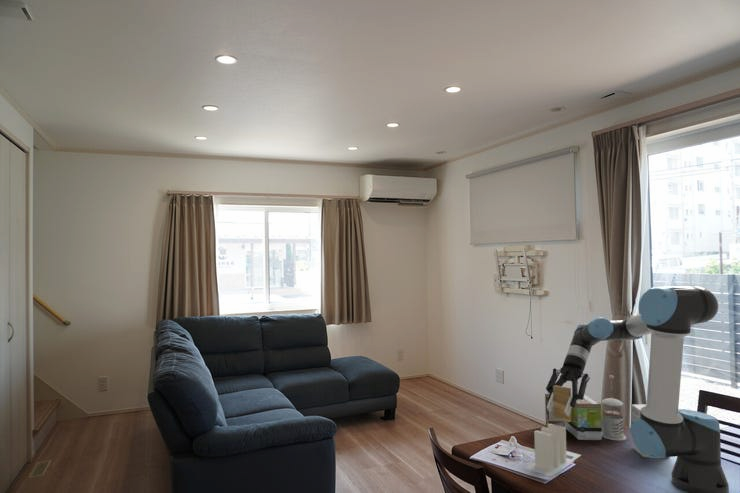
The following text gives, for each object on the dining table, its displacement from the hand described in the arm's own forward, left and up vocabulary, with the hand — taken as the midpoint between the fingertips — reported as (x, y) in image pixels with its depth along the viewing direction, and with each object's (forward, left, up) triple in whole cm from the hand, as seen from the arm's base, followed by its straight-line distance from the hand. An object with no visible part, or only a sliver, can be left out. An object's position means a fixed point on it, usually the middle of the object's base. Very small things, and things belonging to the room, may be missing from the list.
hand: (557, 411), depth 176 cm
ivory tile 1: (0, +2, -17) cm, 17 cm away
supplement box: (-30, -21, -18) cm, 41 cm away
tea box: (-6, -32, -18) cm, 37 cm away
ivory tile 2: (+2, +6, -17) cm, 18 cm away
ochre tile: (-1, -3, -4) cm, 5 cm away
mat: (+1, +4, -17) cm, 18 cm away
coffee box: (+4, -25, -18) cm, 31 cm away
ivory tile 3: (+4, +11, -17) cm, 20 cm away
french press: (-18, -35, -18) cm, 43 cm away
